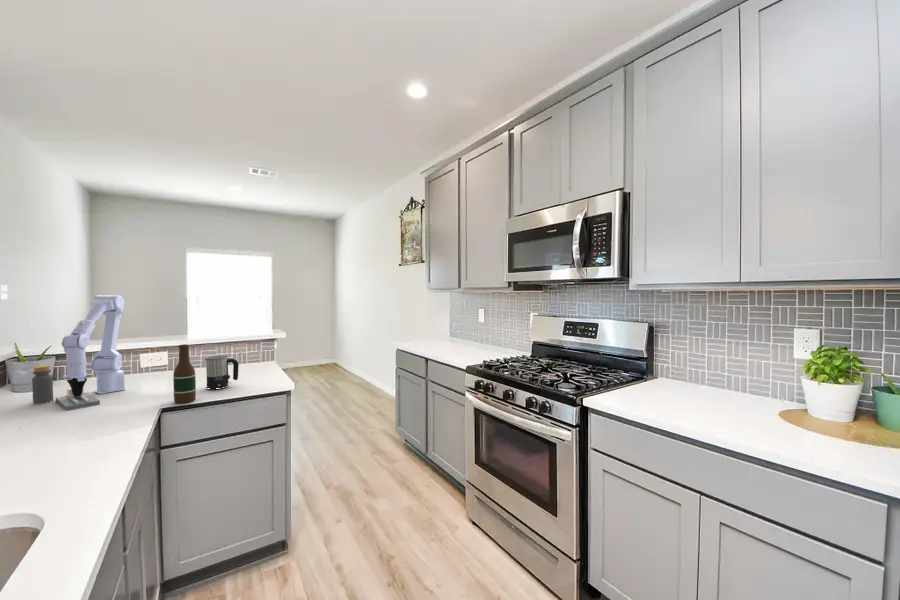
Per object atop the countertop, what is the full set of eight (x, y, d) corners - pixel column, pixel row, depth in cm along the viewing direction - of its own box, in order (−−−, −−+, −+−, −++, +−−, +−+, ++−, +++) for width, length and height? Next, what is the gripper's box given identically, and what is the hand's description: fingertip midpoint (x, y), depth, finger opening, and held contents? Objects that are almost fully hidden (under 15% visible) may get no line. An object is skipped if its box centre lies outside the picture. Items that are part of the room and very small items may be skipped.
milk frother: (211, 391, 181) (211, 359, 180) (194, 386, 189) (194, 356, 189) (242, 384, 193) (241, 355, 192) (224, 380, 201) (224, 351, 201)
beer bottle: (200, 399, 168) (199, 344, 167) (182, 404, 161) (181, 346, 160) (187, 397, 171) (186, 343, 170) (169, 402, 164) (167, 345, 163)
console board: (87, 395, 172) (87, 390, 172) (99, 404, 161) (99, 398, 161) (55, 401, 164) (55, 396, 164) (66, 410, 153) (66, 404, 153)
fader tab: (81, 395, 168) (80, 386, 168) (83, 396, 165) (83, 387, 165) (67, 397, 164) (66, 388, 164) (69, 399, 162) (69, 390, 162)
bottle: (40, 404, 160) (38, 368, 159) (29, 403, 161) (27, 367, 161) (57, 400, 166) (55, 365, 165) (46, 399, 167) (45, 364, 166)
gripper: (58, 362, 163) (60, 395, 164) (67, 367, 155) (68, 401, 155) (81, 360, 169) (82, 391, 169) (90, 364, 160) (92, 397, 161)
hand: (77, 395), depth 163 cm, fingers closed
